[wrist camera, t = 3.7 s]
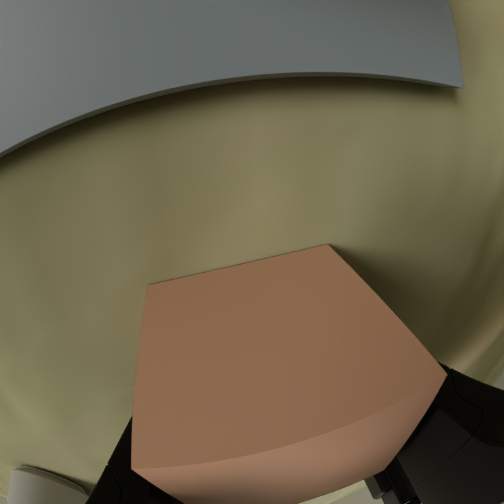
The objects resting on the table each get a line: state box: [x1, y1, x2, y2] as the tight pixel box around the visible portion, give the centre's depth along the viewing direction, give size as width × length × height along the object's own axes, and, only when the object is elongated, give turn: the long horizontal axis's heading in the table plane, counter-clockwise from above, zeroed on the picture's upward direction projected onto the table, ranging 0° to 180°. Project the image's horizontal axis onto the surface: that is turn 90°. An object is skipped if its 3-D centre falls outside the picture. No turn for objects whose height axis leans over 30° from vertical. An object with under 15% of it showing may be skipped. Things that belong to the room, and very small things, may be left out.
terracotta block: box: [131, 244, 447, 504], centre depth 7 cm, size 5×5×5 cm
